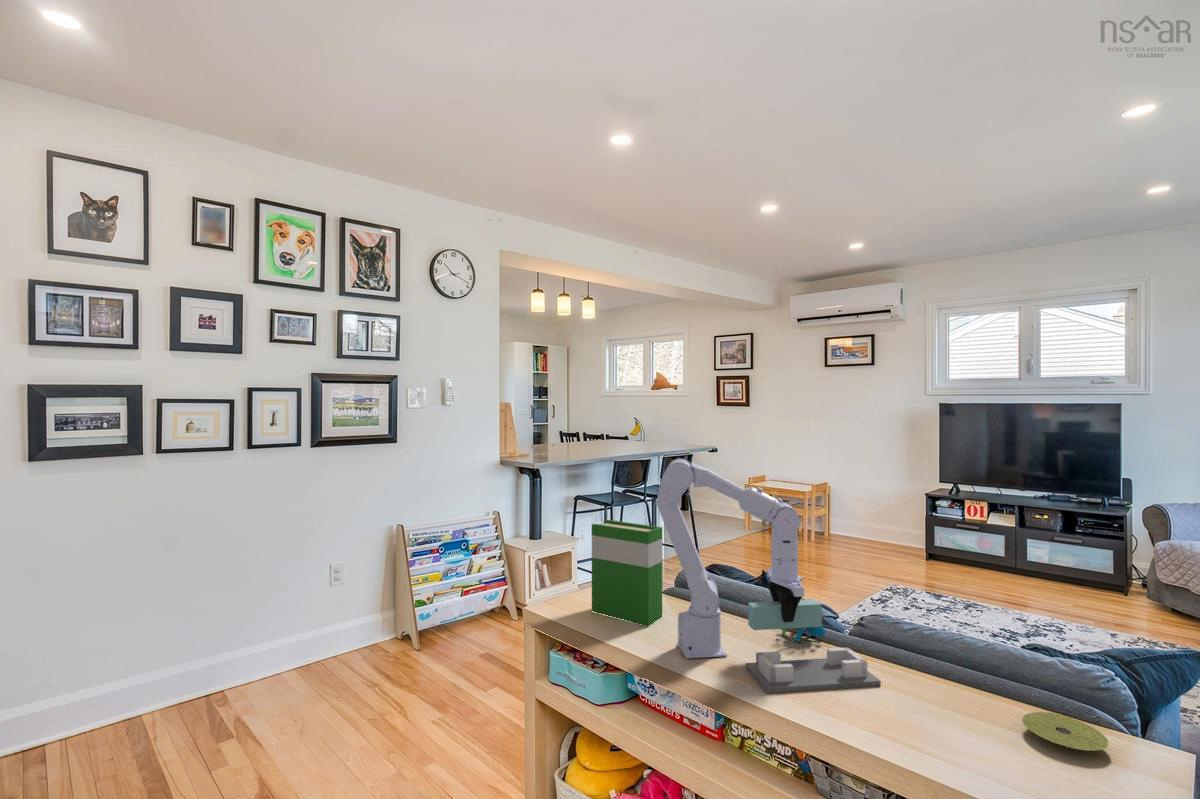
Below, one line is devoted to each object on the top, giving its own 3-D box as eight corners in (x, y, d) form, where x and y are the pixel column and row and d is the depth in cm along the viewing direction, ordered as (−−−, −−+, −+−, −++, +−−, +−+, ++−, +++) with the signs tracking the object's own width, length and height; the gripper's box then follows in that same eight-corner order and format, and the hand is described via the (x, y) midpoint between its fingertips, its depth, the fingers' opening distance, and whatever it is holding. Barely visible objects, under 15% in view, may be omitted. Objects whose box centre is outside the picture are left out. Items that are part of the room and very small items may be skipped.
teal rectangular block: (753, 630, 127) (753, 607, 127) (748, 625, 130) (748, 602, 130) (821, 626, 129) (821, 604, 129) (815, 621, 132) (815, 599, 132)
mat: (1111, 741, 96) (1111, 729, 96) (1105, 771, 88) (1105, 759, 88) (1029, 715, 104) (1028, 704, 104) (1016, 741, 96) (1016, 729, 96)
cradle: (766, 693, 112) (766, 672, 112) (745, 667, 123) (745, 649, 123) (880, 685, 115) (880, 665, 115) (850, 661, 126) (849, 643, 126)
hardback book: (591, 612, 156) (591, 524, 156) (606, 604, 162) (606, 519, 162) (648, 627, 146) (648, 532, 146) (662, 618, 152) (662, 527, 152)
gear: (834, 635, 136) (812, 610, 133) (825, 658, 134) (802, 633, 131) (796, 626, 146) (774, 603, 143) (787, 647, 143) (764, 624, 140)
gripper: (817, 566, 123) (817, 630, 122) (786, 549, 137) (786, 606, 137) (786, 567, 122) (786, 631, 122) (758, 550, 136) (758, 607, 136)
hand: (784, 618), depth 129 cm, fingers closed on teal rectangular block, 3 cm apart
